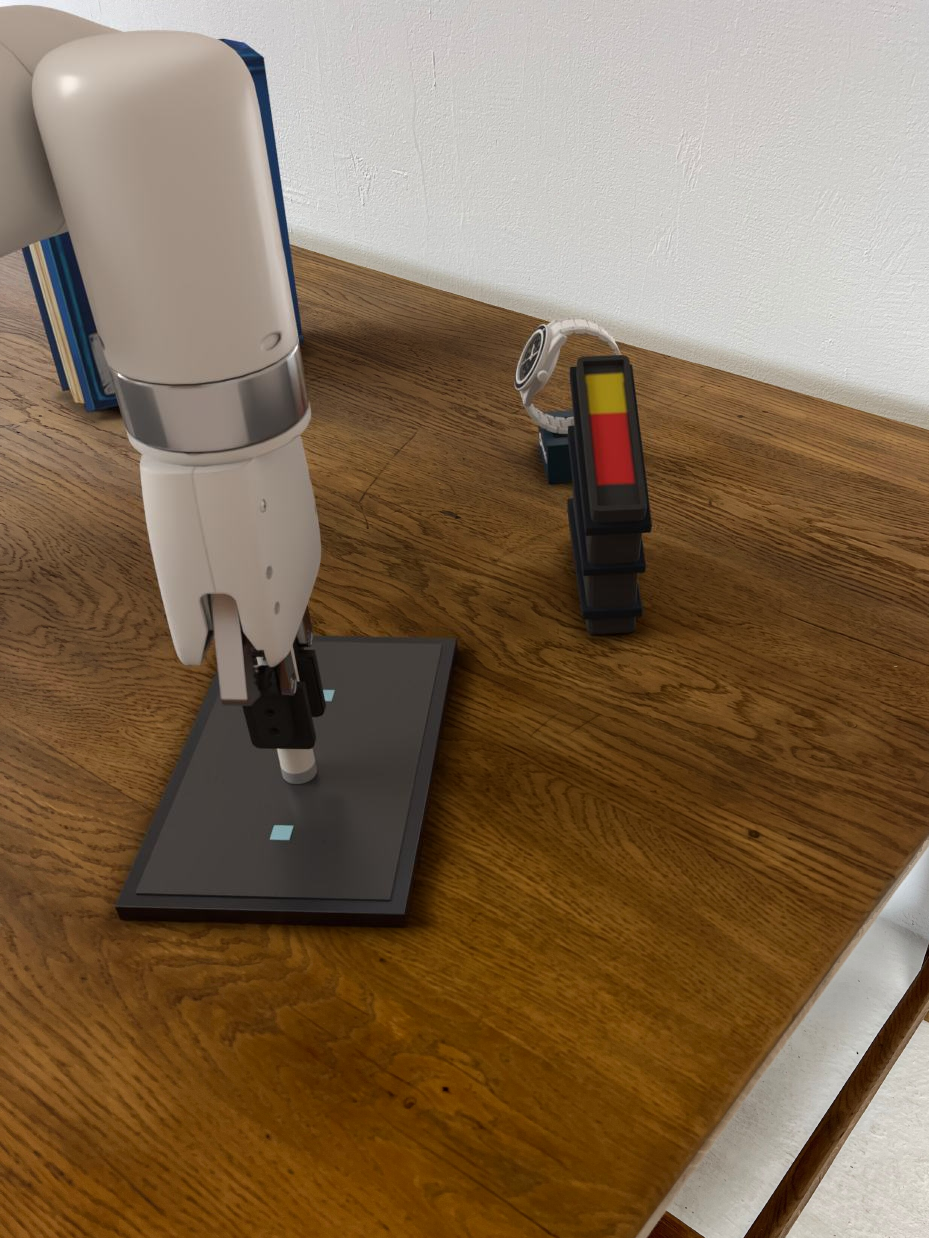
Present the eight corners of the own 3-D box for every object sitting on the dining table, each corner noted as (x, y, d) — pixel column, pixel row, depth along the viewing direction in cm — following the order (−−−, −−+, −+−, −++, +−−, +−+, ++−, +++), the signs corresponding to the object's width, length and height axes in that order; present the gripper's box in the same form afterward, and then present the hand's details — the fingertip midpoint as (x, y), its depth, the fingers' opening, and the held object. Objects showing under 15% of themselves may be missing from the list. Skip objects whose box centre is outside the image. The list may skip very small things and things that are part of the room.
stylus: (279, 784, 61) (248, 648, 55) (285, 760, 62) (256, 625, 56) (314, 784, 61) (287, 649, 55) (319, 761, 62) (294, 626, 56)
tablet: (119, 919, 56) (112, 904, 55) (235, 646, 72) (231, 631, 71) (406, 927, 55) (404, 912, 54) (458, 650, 71) (456, 635, 70)
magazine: (616, 498, 81) (633, 349, 68) (634, 664, 77) (657, 540, 63) (563, 501, 81) (570, 352, 67) (579, 667, 76) (589, 544, 62)
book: (283, 328, 109) (228, 20, 92) (321, 352, 105) (270, 33, 88) (60, 394, 99) (-47, 60, 82) (93, 422, 95) (-13, 78, 78)
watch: (514, 451, 90) (507, 312, 83) (614, 443, 91) (617, 304, 84) (522, 486, 86) (516, 343, 79) (627, 477, 87) (631, 335, 80)
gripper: (178, 314, 53) (255, 637, 65) (52, 485, 41) (175, 838, 54) (339, 315, 53) (386, 639, 65) (258, 487, 41) (334, 841, 53)
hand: (290, 727), depth 59 cm, fingers closed on stylus, 1 cm apart
